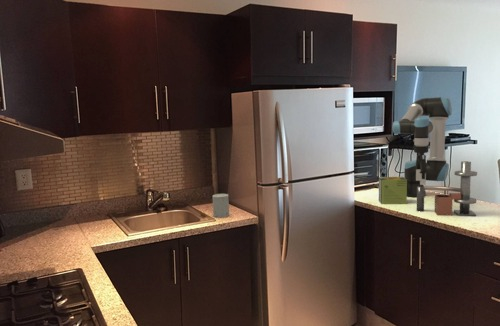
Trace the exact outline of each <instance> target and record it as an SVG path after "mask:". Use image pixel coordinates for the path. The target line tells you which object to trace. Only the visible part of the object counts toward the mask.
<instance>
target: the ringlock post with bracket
mask: <svg viewBox="0 0 500 326" xmlns="http://www.w3.org/2000/svg"><path fill="white" fill-rule="evenodd" d="M454 175H455V176H456V177H457V176H458V177H460V184H459V185H460V187H459V189H460V190H459V191H460V192H449V193H448V194H434V213H435V214H436V215H437V216H453V213H454V214H455V215H457V217H476V216H477V214H476V213H475V212H474V211H473V210H471V209H470V208H471V206H470V205H473V204H476V203H477V198H474V197H471V177H477V176H478V171H474V170H472V161H470V160H469V161H460V170H454ZM453 202H454V203H456V204H459V209H453Z"/></svg>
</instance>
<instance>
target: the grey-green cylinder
mask: <svg viewBox="0 0 500 326" xmlns="http://www.w3.org/2000/svg"><path fill="white" fill-rule="evenodd" d="M212 213H213V215H212V216H213V217H214V218H216V219H217V218H218V219H222V218H223V219H224V218H227V217H230V203H229V193H216V194H213V195H212Z"/></svg>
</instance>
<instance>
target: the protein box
mask: <svg viewBox="0 0 500 326" xmlns="http://www.w3.org/2000/svg"><path fill="white" fill-rule="evenodd" d="M407 197H408V196H407V179H406V178H404V176H382V177H381V176H378V201H379V203H380V205H407V204H408V203H407V202H408V199H407Z"/></svg>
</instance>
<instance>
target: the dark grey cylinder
mask: <svg viewBox="0 0 500 326" xmlns="http://www.w3.org/2000/svg"><path fill="white" fill-rule="evenodd" d="M424 189H425V186H424V187H423V186H417V197H416V212H419V211H420V213H421V212H425V196H424Z"/></svg>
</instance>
